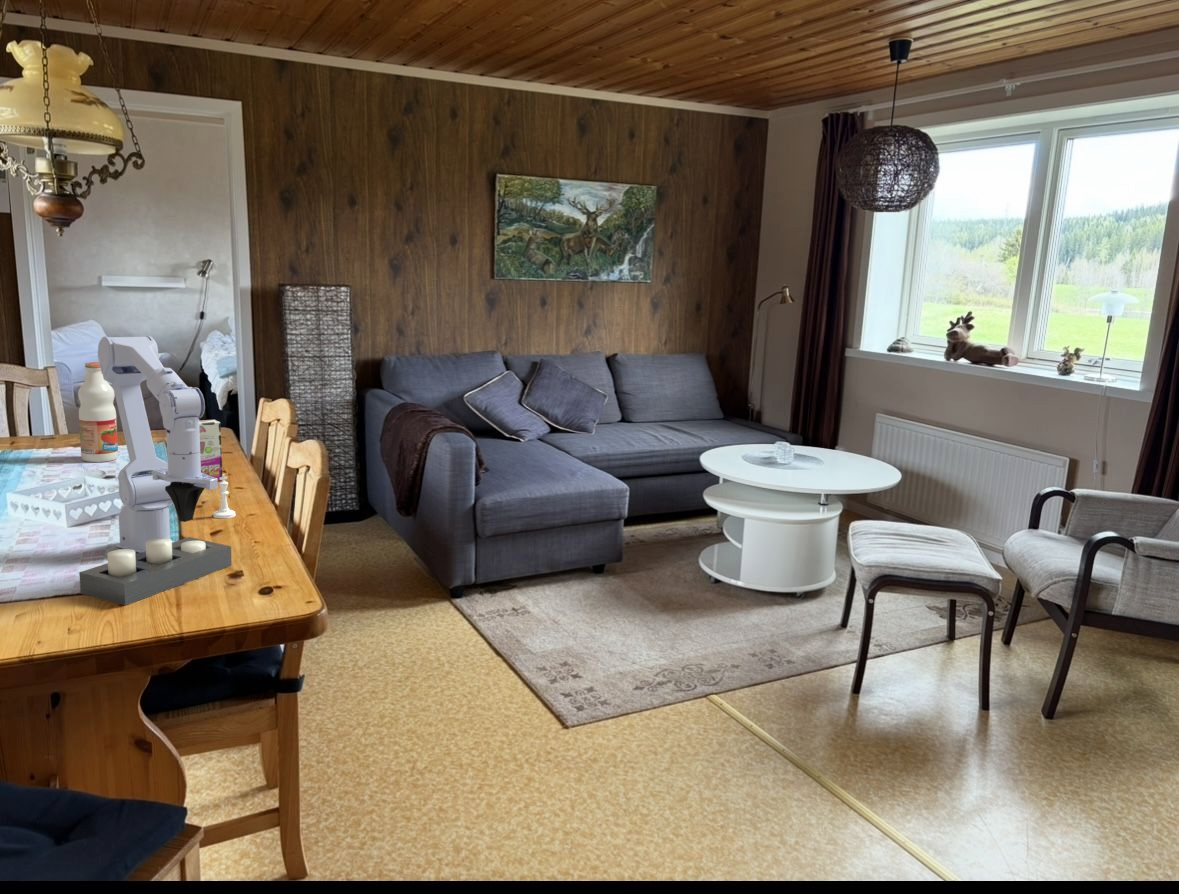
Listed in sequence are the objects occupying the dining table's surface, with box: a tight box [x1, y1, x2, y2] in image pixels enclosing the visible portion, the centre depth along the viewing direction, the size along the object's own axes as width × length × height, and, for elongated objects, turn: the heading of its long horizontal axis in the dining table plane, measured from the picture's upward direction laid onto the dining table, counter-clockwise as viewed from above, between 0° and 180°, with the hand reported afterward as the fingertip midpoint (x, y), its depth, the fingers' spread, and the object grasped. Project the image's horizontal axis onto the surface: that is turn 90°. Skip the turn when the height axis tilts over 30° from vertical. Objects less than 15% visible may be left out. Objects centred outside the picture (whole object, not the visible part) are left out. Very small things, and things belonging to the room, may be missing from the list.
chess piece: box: [213, 473, 237, 520], centre depth 204 cm, size 5×5×10 cm
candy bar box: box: [199, 419, 223, 482], centre depth 232 cm, size 11×5×16 cm, turn 129°
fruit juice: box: [77, 361, 119, 463], centre depth 248 cm, size 9×9×28 cm
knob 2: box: [181, 541, 206, 553], centre depth 170 cm, size 4×4×4 cm
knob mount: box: [78, 536, 232, 606], centre depth 163 cm, size 11×24×4 cm, turn 158°
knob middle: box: [146, 538, 173, 565], centre depth 162 cm, size 4×4×4 cm
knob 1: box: [107, 548, 136, 578], centre depth 155 cm, size 4×4×4 cm
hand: (186, 520), depth 167 cm, fingers closed
